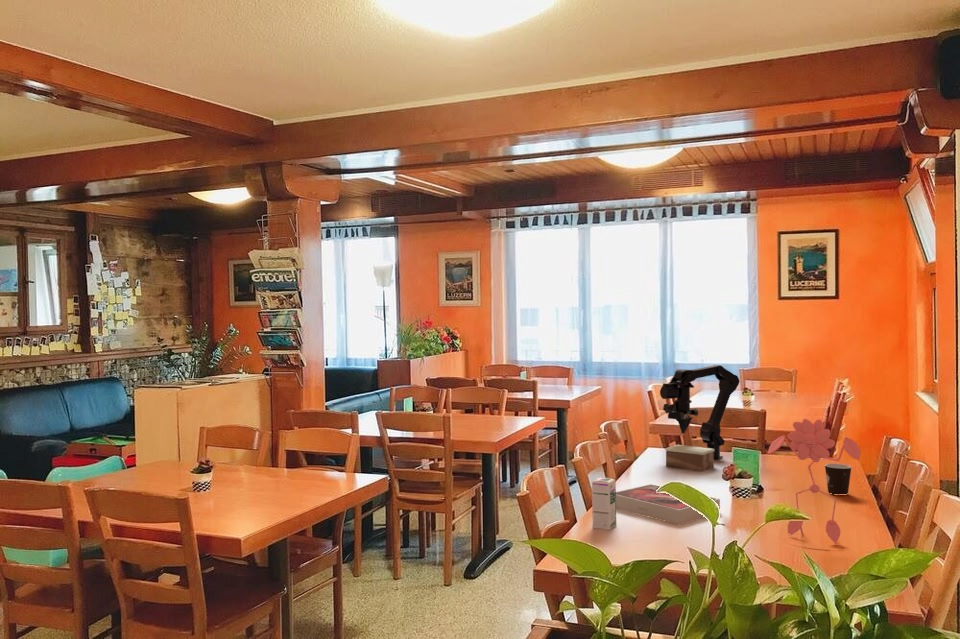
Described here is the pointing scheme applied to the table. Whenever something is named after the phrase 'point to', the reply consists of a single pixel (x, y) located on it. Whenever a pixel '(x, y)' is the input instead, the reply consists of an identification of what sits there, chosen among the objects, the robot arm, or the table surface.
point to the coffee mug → (838, 478)
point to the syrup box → (604, 503)
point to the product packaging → (656, 504)
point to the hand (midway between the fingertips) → (683, 433)
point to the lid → (689, 449)
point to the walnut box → (689, 460)
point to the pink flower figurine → (814, 460)
